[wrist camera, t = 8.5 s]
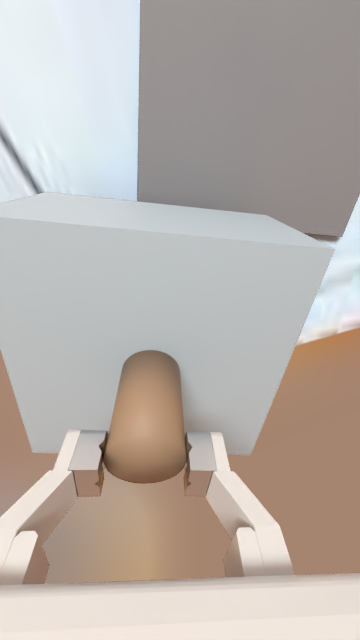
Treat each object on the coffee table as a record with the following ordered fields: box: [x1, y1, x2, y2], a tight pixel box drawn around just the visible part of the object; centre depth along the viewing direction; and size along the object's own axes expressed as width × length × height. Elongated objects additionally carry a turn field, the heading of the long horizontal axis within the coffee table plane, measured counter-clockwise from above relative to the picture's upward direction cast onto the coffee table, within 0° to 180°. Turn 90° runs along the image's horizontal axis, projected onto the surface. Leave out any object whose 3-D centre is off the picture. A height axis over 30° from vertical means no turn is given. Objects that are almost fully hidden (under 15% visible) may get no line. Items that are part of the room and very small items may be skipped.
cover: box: [0, 192, 335, 483], centre depth 16 cm, size 15×15×14 cm
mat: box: [137, 0, 360, 237], centre depth 18 cm, size 18×16×1 cm
